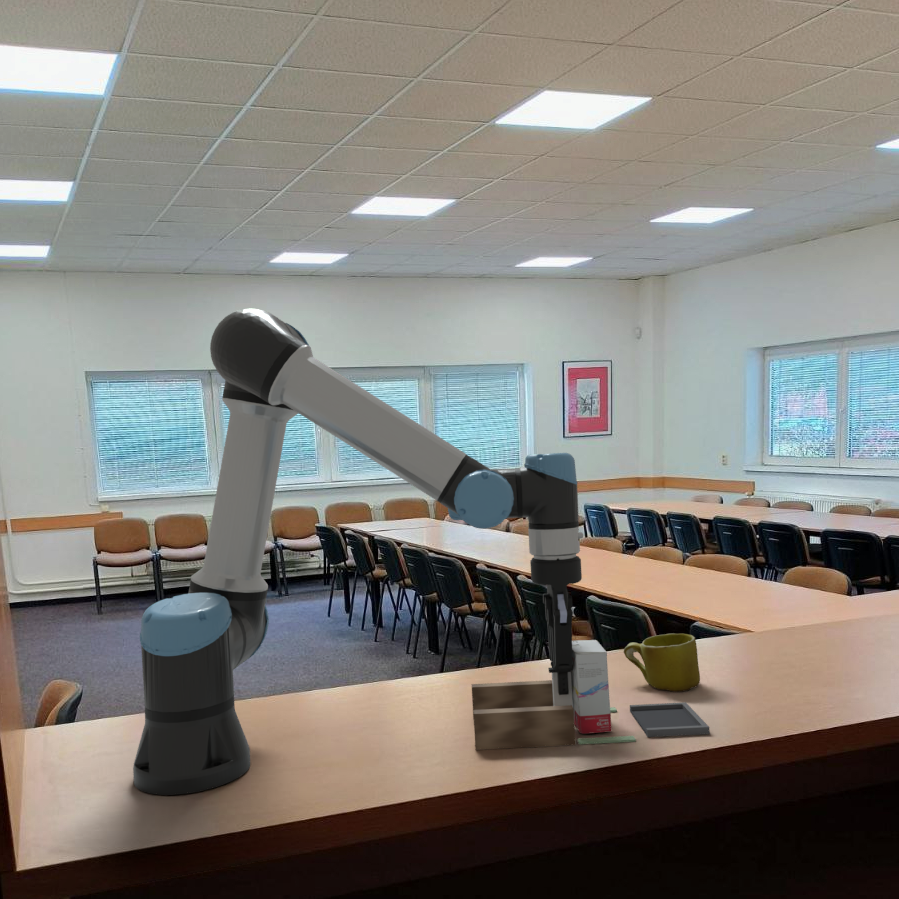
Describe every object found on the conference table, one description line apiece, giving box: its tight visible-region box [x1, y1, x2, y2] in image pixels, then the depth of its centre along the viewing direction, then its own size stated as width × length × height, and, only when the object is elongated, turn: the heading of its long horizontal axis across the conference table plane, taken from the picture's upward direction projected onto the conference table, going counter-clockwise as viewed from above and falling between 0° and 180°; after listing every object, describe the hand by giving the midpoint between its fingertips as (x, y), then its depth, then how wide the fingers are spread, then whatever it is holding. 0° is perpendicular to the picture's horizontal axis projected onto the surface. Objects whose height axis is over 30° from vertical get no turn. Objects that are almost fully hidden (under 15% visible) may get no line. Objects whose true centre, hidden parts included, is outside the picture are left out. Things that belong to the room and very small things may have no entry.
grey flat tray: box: [629, 701, 711, 738], centre depth 120 cm, size 9×12×1 cm
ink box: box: [571, 639, 613, 735], centre depth 120 cm, size 9×5×12 cm, turn 1°
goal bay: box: [576, 706, 637, 745], centre depth 120 cm, size 8×15×1 cm, turn 0°
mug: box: [623, 633, 701, 693], centre depth 139 cm, size 12×10×10 cm
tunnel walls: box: [471, 679, 576, 751], centre depth 120 cm, size 14×15×5 cm
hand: (563, 713), depth 120 cm, fingers closed
